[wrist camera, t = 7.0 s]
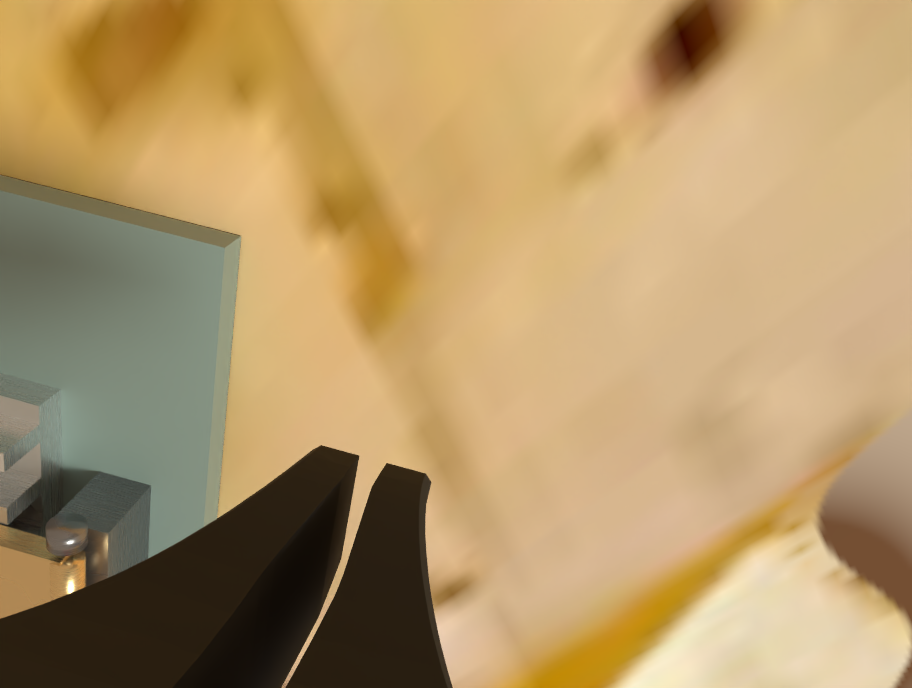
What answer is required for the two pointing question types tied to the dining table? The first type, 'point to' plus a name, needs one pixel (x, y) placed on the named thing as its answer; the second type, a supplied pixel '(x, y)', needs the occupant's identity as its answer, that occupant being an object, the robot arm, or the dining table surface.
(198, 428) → the base board
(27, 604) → the strap
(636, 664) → the dining table surface
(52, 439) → the heat sink
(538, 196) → the dining table surface
